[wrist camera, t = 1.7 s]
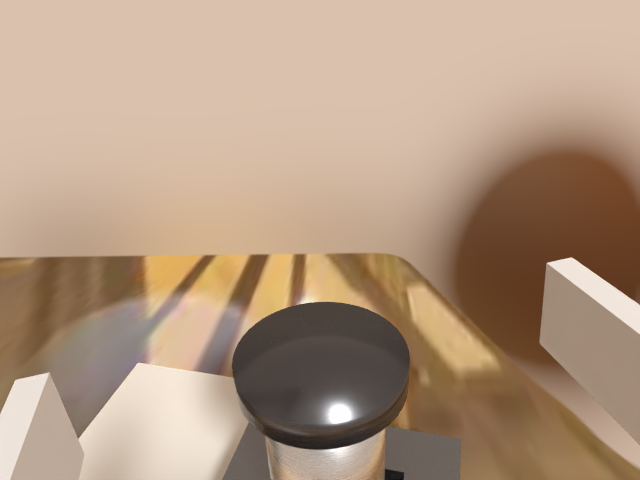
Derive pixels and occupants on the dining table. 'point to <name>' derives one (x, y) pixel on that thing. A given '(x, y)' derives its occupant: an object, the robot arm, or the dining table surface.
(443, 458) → the housing
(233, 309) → the dining table surface
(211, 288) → the dining table surface
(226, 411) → the pad
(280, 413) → the flanged shaft
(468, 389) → the dining table surface
